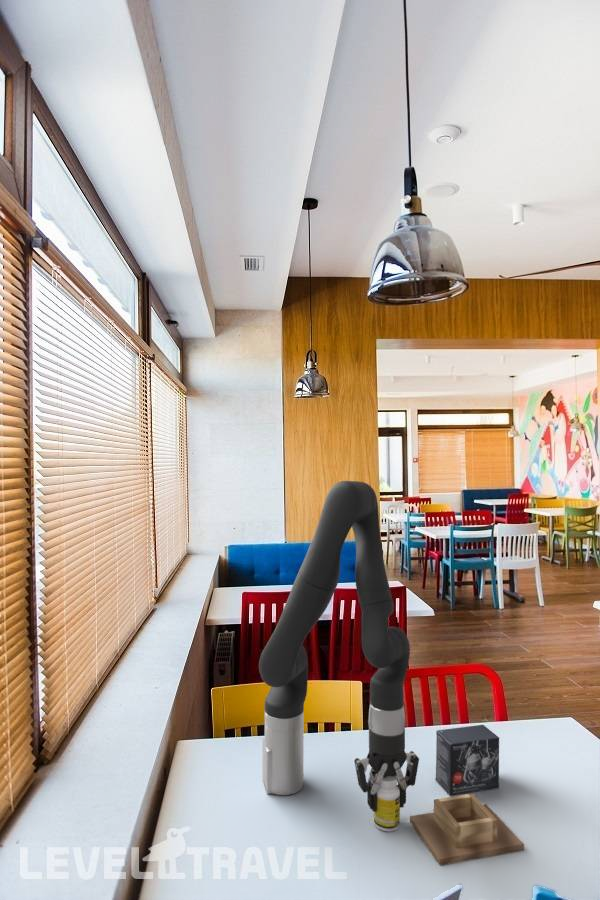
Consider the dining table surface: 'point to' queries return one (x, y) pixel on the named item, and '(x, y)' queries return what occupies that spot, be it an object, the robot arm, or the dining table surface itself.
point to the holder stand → (464, 830)
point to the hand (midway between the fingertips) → (386, 807)
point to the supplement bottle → (387, 805)
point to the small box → (467, 759)
